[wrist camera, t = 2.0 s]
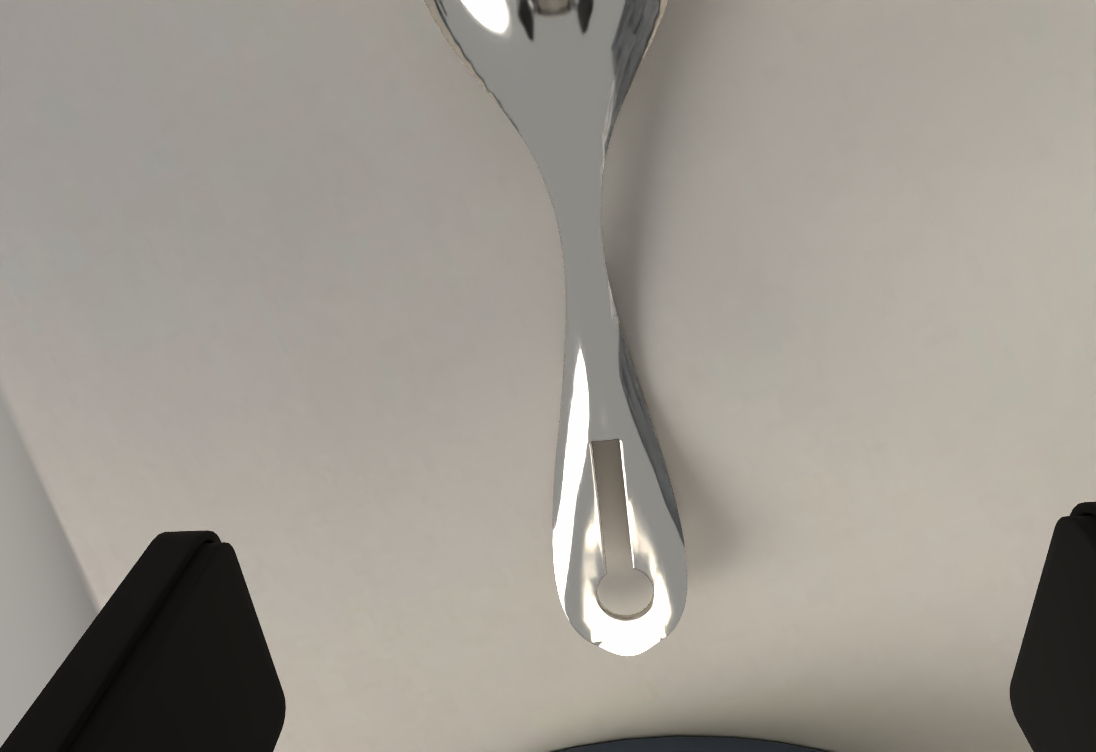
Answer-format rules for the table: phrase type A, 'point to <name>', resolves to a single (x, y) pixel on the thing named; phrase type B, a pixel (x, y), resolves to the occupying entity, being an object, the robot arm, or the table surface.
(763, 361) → the table surface
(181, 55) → the table surface
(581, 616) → the metal spoon
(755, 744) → the bowl
